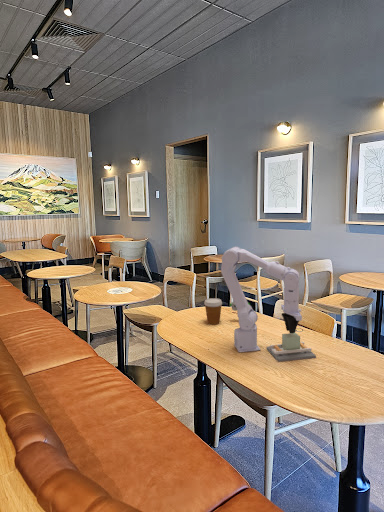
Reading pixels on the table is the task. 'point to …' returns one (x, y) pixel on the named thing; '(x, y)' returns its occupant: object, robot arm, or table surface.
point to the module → (290, 341)
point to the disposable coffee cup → (213, 310)
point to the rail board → (290, 353)
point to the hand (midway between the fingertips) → (290, 331)
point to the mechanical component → (234, 307)
